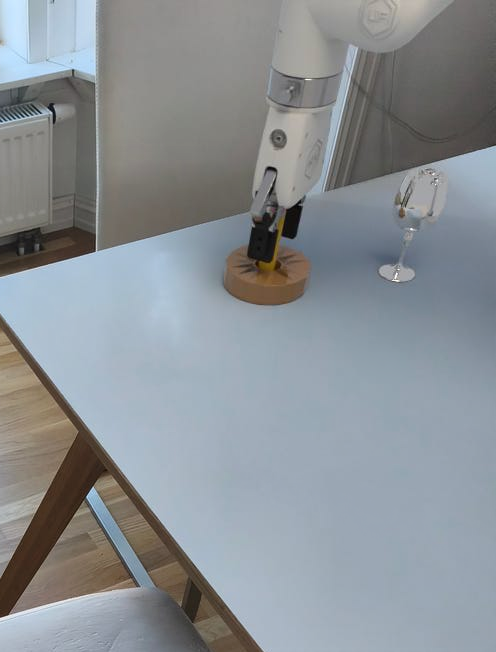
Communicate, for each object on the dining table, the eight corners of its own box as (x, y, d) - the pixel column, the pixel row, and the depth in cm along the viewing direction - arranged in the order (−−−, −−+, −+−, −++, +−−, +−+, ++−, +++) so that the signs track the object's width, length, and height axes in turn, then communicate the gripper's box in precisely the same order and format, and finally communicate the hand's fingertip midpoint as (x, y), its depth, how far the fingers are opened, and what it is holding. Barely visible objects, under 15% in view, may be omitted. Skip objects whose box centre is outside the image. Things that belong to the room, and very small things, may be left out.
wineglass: (418, 287, 111) (452, 189, 101) (371, 280, 112) (400, 183, 103) (421, 265, 114) (454, 168, 105) (375, 259, 116) (404, 163, 106)
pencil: (270, 277, 113) (286, 198, 105) (272, 285, 112) (288, 206, 104) (255, 277, 113) (269, 198, 105) (256, 285, 112) (271, 206, 104)
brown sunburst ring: (301, 263, 115) (305, 243, 113) (310, 305, 109) (315, 286, 107) (221, 262, 116) (223, 243, 114) (225, 304, 110) (229, 284, 108)
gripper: (303, 120, 89) (269, 287, 103) (367, 66, 98) (327, 226, 112) (236, 106, 92) (212, 270, 106) (303, 54, 101) (273, 212, 115)
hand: (271, 246), depth 109 cm, fingers open, 6 cm apart
